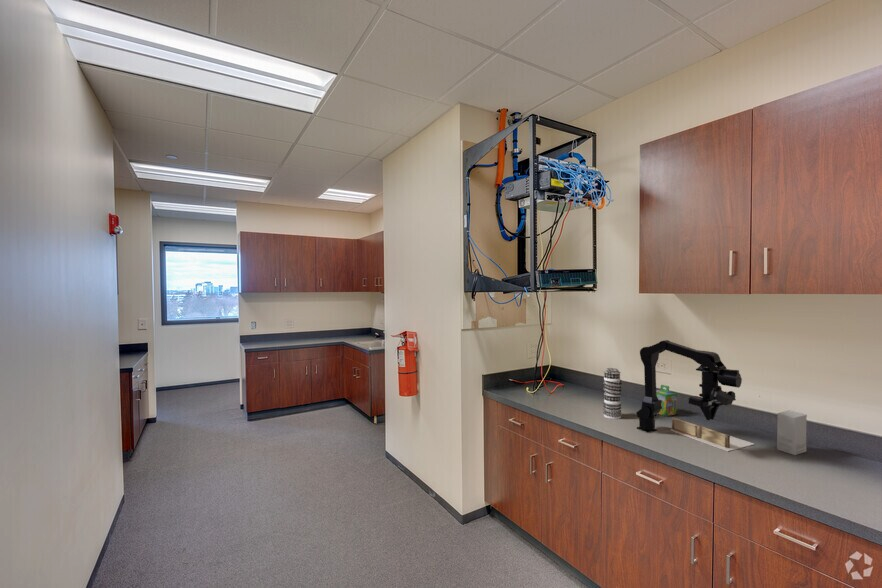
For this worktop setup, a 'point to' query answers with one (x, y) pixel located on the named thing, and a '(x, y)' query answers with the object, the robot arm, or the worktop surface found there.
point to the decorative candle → (612, 393)
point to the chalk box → (667, 401)
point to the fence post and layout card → (732, 442)
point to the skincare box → (791, 432)
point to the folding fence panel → (716, 437)
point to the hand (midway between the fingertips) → (709, 419)
